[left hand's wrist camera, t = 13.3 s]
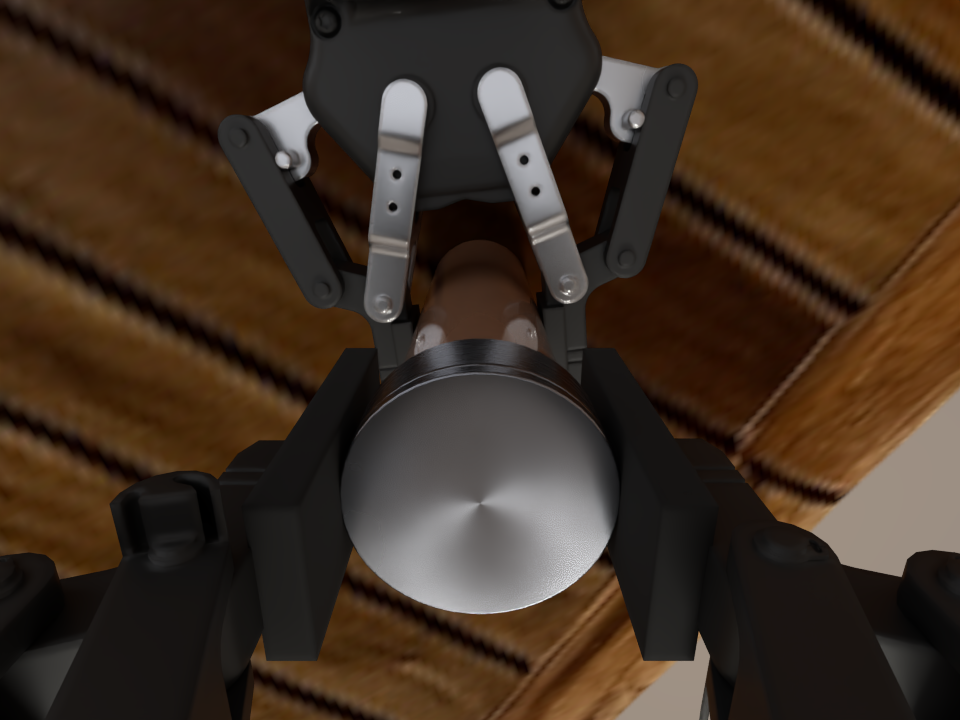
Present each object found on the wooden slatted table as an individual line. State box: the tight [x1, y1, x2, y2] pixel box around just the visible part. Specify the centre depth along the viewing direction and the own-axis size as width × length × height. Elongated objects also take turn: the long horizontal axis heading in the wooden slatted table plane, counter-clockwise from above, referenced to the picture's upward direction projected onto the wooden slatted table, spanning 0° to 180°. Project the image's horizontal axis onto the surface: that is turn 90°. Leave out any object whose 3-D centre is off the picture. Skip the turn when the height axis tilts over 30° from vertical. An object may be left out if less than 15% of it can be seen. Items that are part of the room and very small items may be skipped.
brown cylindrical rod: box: [403, 240, 556, 363], centre depth 18 cm, size 4×4×16 cm
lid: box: [339, 338, 621, 614], centre depth 11 cm, size 5×5×2 cm
